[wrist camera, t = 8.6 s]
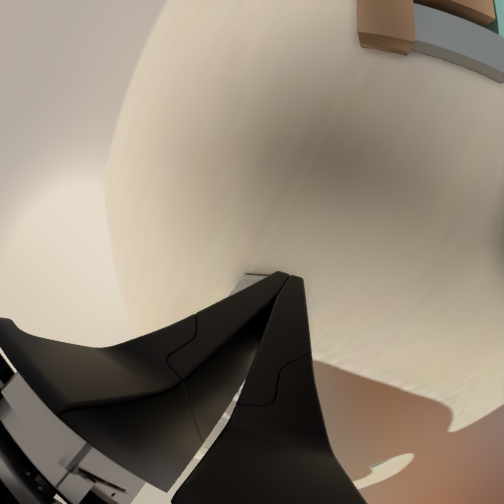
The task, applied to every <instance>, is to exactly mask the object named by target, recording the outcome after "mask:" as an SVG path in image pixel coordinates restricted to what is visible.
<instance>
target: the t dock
mask: <svg viewBox="0 0 504 504" xmlns="http://www.w3.org/2000/svg"><path fill="white" fill-rule="evenodd" d="M413 4H414V20H415V43H414V45H413V46H412V48H411V49H410V50H412V51H416V52H419V53H423V54H426V55H430V56H433V57H436V58H440V59H443V60H446V61H449V62H452V63H454V64H457V65H460V66H463V67H465V68H468V69H470V70H473V71H475V72H478V73H480V74H482V75H485V76H487V77H489V78H491V79H493V80H496V81H498V82H500V83H504V0H493V6H494V12H495V20H494V21H492V22H490V23H489V24H487V25H486V26H484V27H481V26H479V25H477V24H475V23H472V22H470V21H467V20H465V19H462V18H460V17H457V16H454V15H451V14H448V13H446V12H443V11H439V10H436V9H433V8H430V7H426V6H423V5H419V4H415V3H413Z"/></svg>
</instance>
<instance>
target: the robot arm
mask: <svg viewBox="0 0 504 504" xmlns="http://www.w3.org/2000/svg"><path fill="white" fill-rule="evenodd" d="M0 348H1V349H2V350H3V352H4V354H5V355H6V356H7V358H8V359H9V361H10V362H11V363H12V365H13V366H14V368H16V370H17V372H16V373H15V372H14V371H13V370H12V368H11V367H10V366H9V365H8V363H7V362H6V360H5V359H4V358H3V356H2V355H1V354H0V504H62V503H61V502H59V501H58V500H56V499H55V498H53V497H54V496H55V495H56V494H58V495H59V496H60V497H61V498H62V499H63V500H64V501H65V502H66V503H67V504H130V503H131V502H132V501H133V499H134V498H135V497H136V495H137V494H138V493H139V491H140V490H141V488H142V487H143V486H144V484H145V483H146V482H147V483H149V484H151V485H153V486H155V487H156V488H158V489H160V490H162V491H164V492H166V493H167V492H168V491H169V490H170V488H171V487H172V485H173V484H174V483H175V482H176V480H177V479H178V478H179V476H180V475H181V474H182V472H183V471H184V470H185V468H186V467H187V465H188V464H189V463H190V461H191V460H192V459H193V457H194V456H195V454H196V453H197V452H198V450H199V449H200V447H201V446H202V443H204V442H205V440H206V438H207V437H208V436H209V434H210V433H211V431H212V430H213V428H214V427H215V425H216V424H217V422H218V421H219V419H220V418H221V416H222V415H223V413H224V412H225V410H226V409H227V407H228V406H229V404H230V403H231V401H232V400H233V398H234V397H235V395H236V393H237V392H238V390H239V389H240V387H241V386H242V384H243V382H244V381H245V383H244V385H243V388H242V390H241V393H240V395H239V398H238V400H237V403H236V406H235V408H234V410H233V413H232V415H231V417H230V419H229V421H228V423H227V424H226V426H225V427H224V429H223V430H222V432H221V433H220V435H219V436H218V437H217V439H216V440H215V442H214V443H213V444H212V446H211V447H210V448H209V450H208V451H207V452H206V454H205V455H204V456H203V458H202V459H201V460H200V462H199V463H198V464H197V466H196V467H195V469H194V470H193V471H192V472H191V474H190V475H189V476H188V477H187V479H186V480H185V481H184V482H183V484H182V485H181V486H180V487H179V489H178V490H177V491H176V493H175V494H174V496H173V498H172V500H171V503H172V504H368V503H367V502H366V501H365V499H364V498H363V497H362V495H361V494H360V492H359V491H358V489H357V488H356V487H355V485H354V484H353V482H352V481H351V479H350V478H349V476H348V475H347V474H346V472H345V471H344V469H343V468H342V466H341V465H340V463H339V462H338V460H337V459H336V457H335V455H334V453H333V450H332V448H331V445H330V442H329V438H328V435H327V430H326V426H325V422H324V418H323V414H322V410H321V405H320V401H319V397H318V393H317V388H316V384H315V377H314V369H313V360H312V355H311V354H312V351H311V341H310V331H309V322H308V313H307V305H306V297H305V289H304V281H303V278H301V277H298V276H294V275H289V274H287V273H284V272H280V271H277V272H275V273H273V274H271V275H269V276H267V277H265V278H263V279H261V280H260V281H258V282H256V283H254V284H252V285H250V286H248V287H246V288H244V289H242V290H240V291H238V292H237V293H235V294H233V295H231V296H229V297H227V298H225V299H223V300H221V301H219V302H217V303H215V304H213V305H211V306H209V307H207V308H205V309H203V310H201V311H199V312H197V313H196V314H193V315H191V316H189V317H187V318H185V319H183V320H181V321H178V322H176V323H174V324H172V325H170V326H167V327H165V328H162V329H159V330H157V331H154V332H152V333H149V334H146V335H143V336H140V337H138V338H135V339H132V340H129V341H126V342H124V343H121V344H117V345H114V346H110V347H103V348H93V347H87V346H81V345H75V344H70V343H65V342H59V341H54V340H50V339H45V338H41V337H37V336H33V335H30V334H28V333H25V332H24V331H22V330H20V329H19V328H18V327H17V326H16V325H15V324H14V322H13V321H12V320H11V319H7V318H0ZM245 379H246V380H245Z"/></svg>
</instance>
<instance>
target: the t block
mask: <svg viewBox="0 0 504 504" xmlns="http://www.w3.org/2000/svg"><path fill="white" fill-rule="evenodd" d="M413 3H415V4H419V5H423V6H426V7H430V8H433V9H436V10H439V11H443V12H446V13H448V14H451V15H454V16H457V17H460V18H462V19H465V20H467V21H470V22H472V23H475V24H477V25H479V26H481V27H484V26H486V25H487V24H489V23H490V22H492V21H494V20H495V12H494V6H493V0H357V31H358V36H359V40H360V45H361V47H366V48H372V49H378V50H383V51H388V52H393V53H398V54H402V55H406V56H407V54H408V53H409V51H410V49H411V48H412V46H413V45H414V43H415V20H414V4H413Z"/></svg>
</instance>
